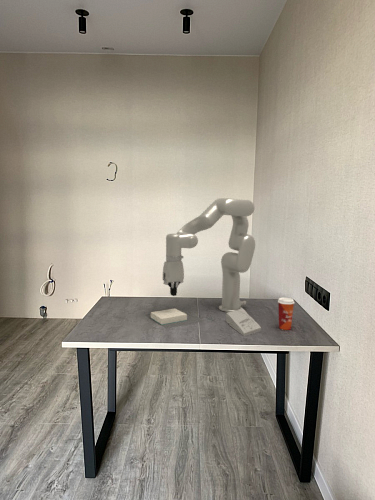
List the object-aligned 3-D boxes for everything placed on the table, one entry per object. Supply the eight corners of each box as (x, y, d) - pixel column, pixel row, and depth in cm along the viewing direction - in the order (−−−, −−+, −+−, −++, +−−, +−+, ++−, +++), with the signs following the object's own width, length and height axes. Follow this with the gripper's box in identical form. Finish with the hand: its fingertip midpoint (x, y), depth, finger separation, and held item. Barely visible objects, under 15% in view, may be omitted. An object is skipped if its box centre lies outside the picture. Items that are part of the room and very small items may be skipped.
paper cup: (284, 331, 173) (285, 302, 171) (273, 326, 179) (274, 298, 178) (297, 329, 176) (298, 300, 174) (285, 324, 183) (287, 296, 181)
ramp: (263, 337, 166) (263, 326, 166) (227, 336, 167) (227, 325, 167) (255, 317, 194) (255, 307, 193) (224, 317, 195) (225, 307, 194)
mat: (182, 310, 204) (182, 309, 204) (205, 321, 186) (205, 320, 186) (146, 316, 193) (146, 315, 193) (165, 329, 174) (165, 328, 174)
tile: (175, 308, 196) (150, 312, 188) (186, 314, 185) (161, 318, 178) (175, 313, 196) (150, 318, 189) (186, 320, 186) (161, 325, 179)
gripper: (182, 256, 192) (182, 291, 194) (156, 258, 184) (156, 295, 187) (190, 258, 185) (190, 295, 188) (163, 261, 178) (163, 298, 180)
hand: (173, 295), depth 187 cm, fingers closed
